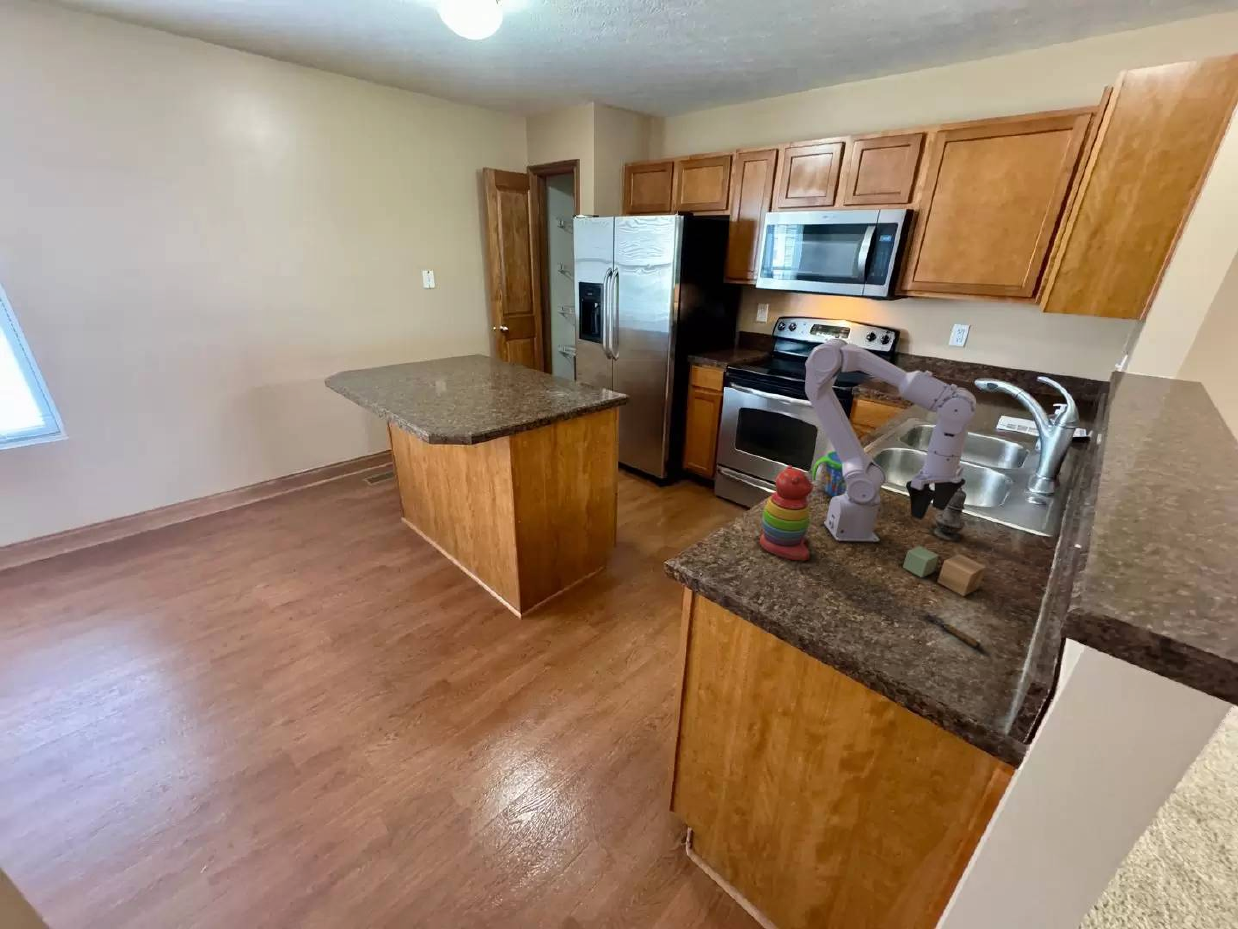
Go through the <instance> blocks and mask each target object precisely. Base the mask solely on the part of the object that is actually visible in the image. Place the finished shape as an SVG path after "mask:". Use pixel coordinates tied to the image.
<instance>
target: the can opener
mask: <svg viewBox="0 0 1238 929" xmlns="http://www.w3.org/2000/svg"><path fill="white" fill-rule="evenodd" d="M927 614H928V615H927V619H928V620H931V621H933V623H934V624H936V625H938V626H943V628H944V629H945V630H946V631H948V632H950V633H951V634H952V635H955V636H956V637H958V638H959V639H960V640H962V641H963V642H965V643H966V644H968V645H970V646H971V647H973V648H975V649H978V648H979V647H980V645H981V643H980V641H978V640H976V639H975V638H973V637H972V636H970V635H969V634H966V633H965V632H963V631H961V630H959V629H957V627H955V626H953V625H951V624H948V623H945V620H943V619H942V618H940V617H939V616H937V615H935V614H932V613H929V612H927Z"/></svg>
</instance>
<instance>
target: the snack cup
mask: <svg viewBox="0 0 1238 929" xmlns="http://www.w3.org/2000/svg"><path fill="white" fill-rule="evenodd" d="M823 463H825V464H826V466H825V468H826V470H825V489H824V491H825V493H827V494H828V495H829V496H831V497H832V498H833V497H835V496H840V495H843V494H845V491H846V482H845V479H844V477H843V472H842V463H841V461H840V459H839V457H838V455H837V453H836V451H835V450H833V451H830V452H828V453H827V454H826V455H825V456H823V457H821V458H819V459H817V461H816V462H815V463H814V465H813V468H812V471H811V472H812V480H813V481H816V475H817V473H818V472H817V471H818V469H819V466H820V465H821V464H823Z"/></svg>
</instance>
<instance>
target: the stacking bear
mask: <svg viewBox="0 0 1238 929" xmlns="http://www.w3.org/2000/svg"><path fill="white" fill-rule="evenodd" d="M775 490H776V491H774V492H773V493H772V494H771V496H770V497H769V498H768V499H767V501H766V504H765V506H764V509H763V511H762V518H761V525H762V526H761V527H762V532H763V533H762V534H761V535H760V537H759V544H760V546H761V547H762V549H764V550H765V551H766V552H768V553H771V554H773V555H775V556H778V557H780V558H783V559H786V560H787V559H788V560H792V561H801V562H805V561H807V560H809V559H810V550H809V549H808V548H807V546H806V545H805V544H804V543H806V540H807V537H806V533H807V531H808V528H809V525H810V507H809V500H808V498H807V497H808V496H809V495H810V494H811V493H812V492H813V490H814V484H813V482H812V481H810V480H809V479H808V477H807V475H806V474H805V472H803V471H802V470H800V469H797V468H793V466H792V465H788V466H787V467H786V468H785V469H784V470H782V471H781V472H780V473H779V474H778V475H777V476H776V479H775Z"/></svg>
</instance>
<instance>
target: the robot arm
mask: <svg viewBox="0 0 1238 929" xmlns="http://www.w3.org/2000/svg"><path fill="white" fill-rule="evenodd" d="M804 365H805V370H806V371H805V372H806V373H805V384H804V392H805V395H806V397H807V399H808V400H809V402H810V404H811V407H812V408H813V410H814V412H815V414H816V417H817V418H818V420H819V422H820V424H821V426H822V428H823V429H824V431H825V433H826V436H827V438H828V439H829V442H830V444H831V445H832V447H833V449H834V451H836V453H837V455H838V457H839V459H840V461H841V463H842V472H843V477H844V479H845V482H846V491H845V494H843V495H840V496H835V497H833V496H832V498H831V500H830V502H829V506H828V509H827V510H828V511H827V515H826V520H825V521H824V522H823V524H824V525H825V526H826V528H827V529H828V530H829V532H830V534H831V535H832V536H833V537H834V539H835V540H836V541H838V542H871V543H872V542H874V543H875V542H880V538H879V537H878V536H877V534H876V533H875V532H874V528H875V525H876V520H877V516H878V512H879V508H880V505H881V501H882V497H881V496H880V493H879V492H880V490H881V488H882V487H883V485H884V484H885V482H886V479H887V478H886V472H885V471H884V469H883V468H882V467H881V466H879V465H878V464H877V463H876V462H875V461H874V459H873V456H872V455H870V454H868V453H867V452H866V451H865V449H864V447H863V445H862V444H861V441H860V440H859V438H858V436H857V434H856V432H855V430H854V428H853V426H852V424H851V422H850V420H849V418H848V416H847V415H846V412H845V410H844V409H843V407H842V406H843V405H842V404H841V402H840V401H839V398H838V397H837V395H836V393H835V391H834V389H833V387H834V384H835V382H836V380H837V377H838V375H839V374H840V372H841V373H849V372H856V371H860V372H862V373H864V374H866V375H869V376H872V377H873V378H875V379H878V380H880V381H883V382H884V383H887V384H890V385H891V386H893V387H896V388H897V389H898V391H899V395H900V397H901V398H903V399H905V400H907V401H909V402H911V403H913V404H915V405H917V406H919V407H921V408H923V409H925V410H927V411H929V412H931V413H937V421H936V424H935V426H934V427H933V430H932V433H931V437H930V441H929V444H928V448H927V451H926V455H925V459H924V462H923V463H924V464H923V467H921V469H920V470H919V471H918V473H917V474H916V475H915V476H913V477H912V478H911V480H909V481H907V482H906V483H905V488H906V490H907V492H908V493H907V494H908V497H909V501H910V503H909V504H910V516H912V517H913V518H916V519H918V520H923V519H924V517H925V515H926V514H927V511H928V509H929V507H930V505H931V503H932V507H933V508H934V509H937V510H939V511H944V510H945V509H946V506H947V505H948V503H949V501H950V500H951V498H952V497H953V495H954V494H955V493H956V492H957V490H959V488H960V487H962V486H964V485H965V484H966V480H965V479H964V478H962V477H961V476H962V474H963V472H964V468H965V466H962V465H960V462H961V459H962V456H963V452H964V449H965V445H966V442H967V439H968V435H969V431H968V430H969V429H970V426H971V421H972V420H973V419H974V417H975V415H976V413H975V412H976V408H977V399H976V397H975V395H974V394H973V393H972V392H971V391H969V390H968V389H967V388H964V387H958V385H956V384H954V383H951V385H950V384H948V383H946V382H944V381H942V380H939V379H938V378H936V377H934V376H933V372H931V371H929V370H926V371H924V372H923V371H922V370H914V371H911V372H908V371H906V370H904V369H902V368H900V367H898V366H897V365H894V364H893V363H891V362H889V361H887V360H885V359H883V358H882V357H879V356H878V355H876V354H874V353H872V352H870V351H869V350H866V349H865V348H863V347H861V346H859V345H858V344H855V343H852V342H849V343H848V342H847V341H846V340H844V339H842V338H838V337H837V338H831V339H829V340H826V341H825V342H824V343H822V344H819V345H817V346H816V347H814V348H813V349H812V350H811V351H810V354H809V356H808V358H807V360H806V361H805V364H804ZM931 484H934V486H933V487H934V489H931V488H932V487H931Z"/></svg>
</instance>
